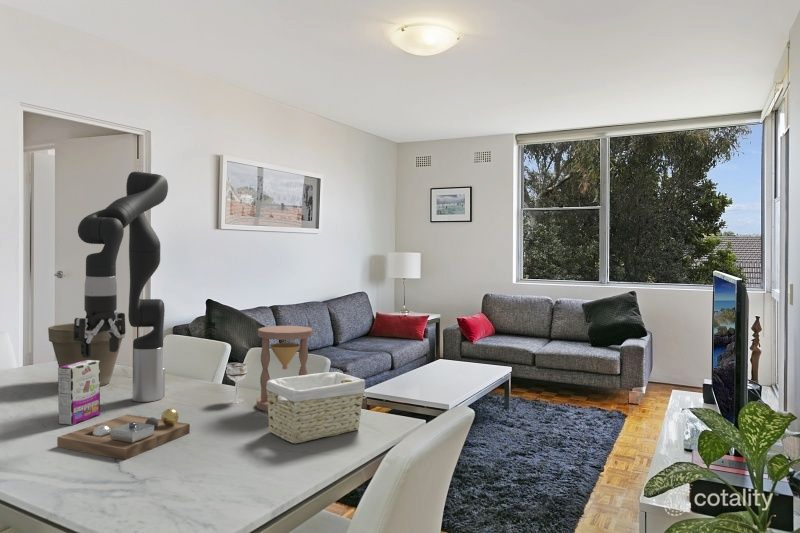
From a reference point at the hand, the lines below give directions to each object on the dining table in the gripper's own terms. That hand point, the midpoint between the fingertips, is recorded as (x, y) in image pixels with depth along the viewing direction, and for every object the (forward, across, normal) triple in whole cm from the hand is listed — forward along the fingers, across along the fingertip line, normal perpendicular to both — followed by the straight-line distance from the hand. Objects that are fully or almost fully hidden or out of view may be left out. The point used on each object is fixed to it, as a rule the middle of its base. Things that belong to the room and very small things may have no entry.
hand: (100, 354), depth 150 cm
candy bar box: (+23, +8, +17) cm, 30 cm away
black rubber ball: (+19, +3, -14) cm, 24 cm away
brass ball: (+19, +8, -16) cm, 26 cm away
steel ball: (+22, -4, -5) cm, 22 cm away
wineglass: (+23, +44, -11) cm, 51 cm away
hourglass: (+23, +46, -28) cm, 59 cm away
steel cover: (+19, -4, -15) cm, 24 cm away
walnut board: (+22, 0, -9) cm, 23 cm away
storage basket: (+22, +27, -50) cm, 61 cm away
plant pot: (+24, +42, +52) cm, 71 cm away
